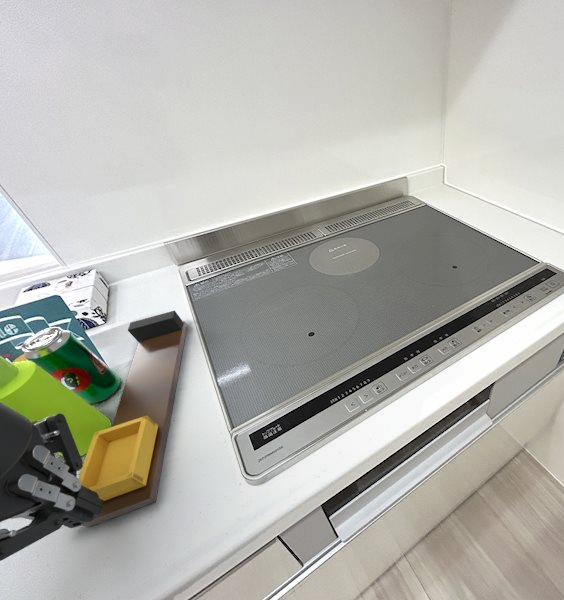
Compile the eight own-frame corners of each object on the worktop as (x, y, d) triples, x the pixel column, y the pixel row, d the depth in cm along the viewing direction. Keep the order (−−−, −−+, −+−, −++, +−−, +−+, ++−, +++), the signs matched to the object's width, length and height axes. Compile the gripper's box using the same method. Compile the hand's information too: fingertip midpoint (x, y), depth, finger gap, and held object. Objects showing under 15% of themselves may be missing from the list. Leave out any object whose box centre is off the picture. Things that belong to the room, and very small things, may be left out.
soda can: (129, 384, 52) (71, 332, 44) (94, 410, 48) (25, 359, 40) (113, 372, 54) (55, 320, 46) (78, 396, 51) (10, 345, 43)
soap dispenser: (108, 404, 49) (-16, 305, 36) (113, 438, 45) (-26, 340, 32) (60, 429, 47) (-93, 334, 33) (61, 468, 42) (-114, 376, 29)
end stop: (182, 329, 58) (173, 317, 56) (138, 342, 57) (127, 330, 55) (183, 322, 60) (174, 310, 58) (141, 334, 58) (130, 322, 56)
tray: (146, 485, 38) (132, 477, 37) (87, 507, 37) (70, 499, 35) (158, 425, 44) (147, 415, 42) (108, 442, 43) (94, 432, 41)
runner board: (155, 501, 38) (149, 498, 38) (87, 527, 37) (80, 524, 36) (187, 325, 61) (184, 320, 60) (145, 337, 59) (141, 332, 58)
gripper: (-89, 377, 26) (73, 465, 38) (-272, 579, 17) (18, 613, 29) (22, 347, 28) (145, 440, 40) (-89, 517, 18) (115, 574, 30)
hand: (91, 513), depth 34 cm, fingers closed
